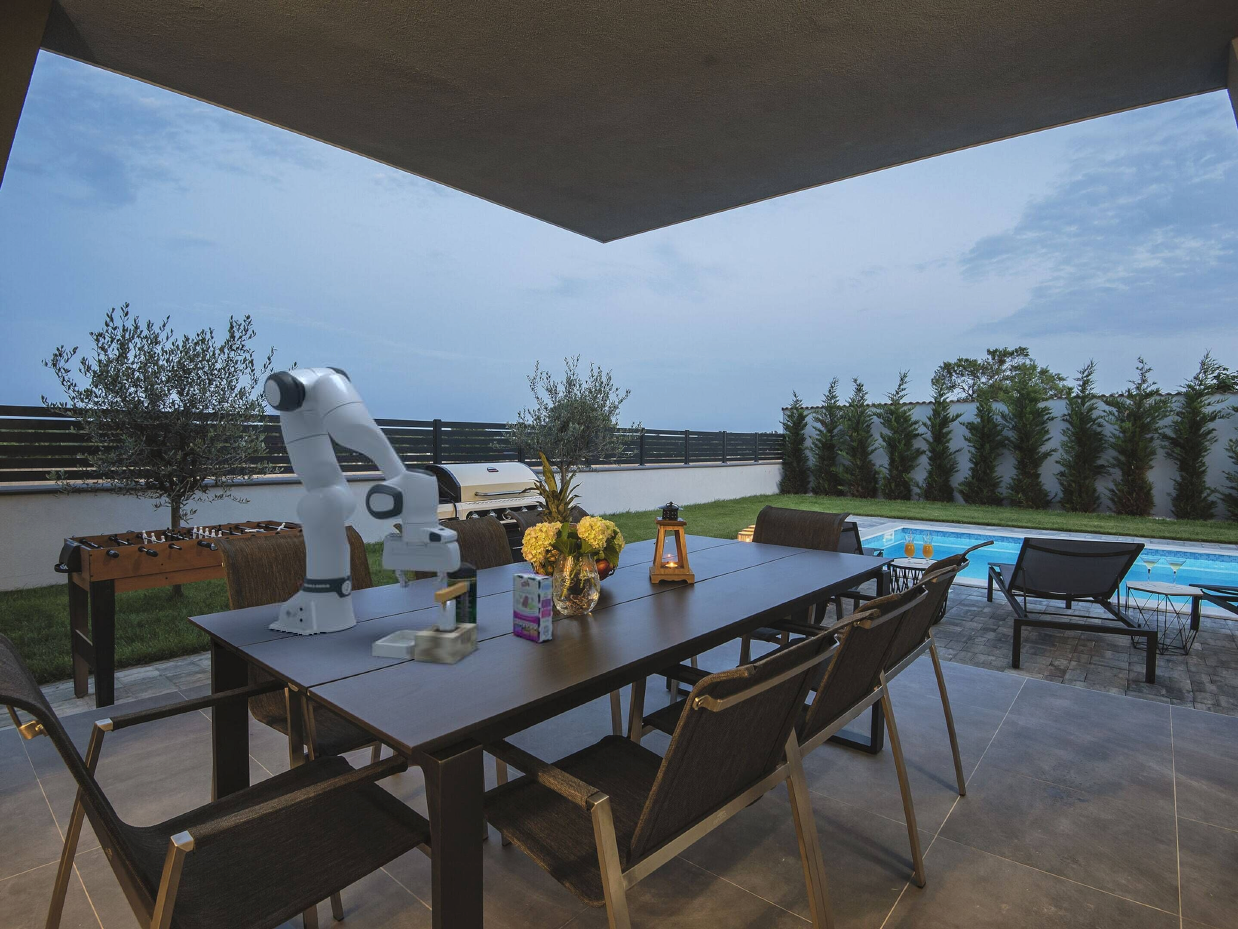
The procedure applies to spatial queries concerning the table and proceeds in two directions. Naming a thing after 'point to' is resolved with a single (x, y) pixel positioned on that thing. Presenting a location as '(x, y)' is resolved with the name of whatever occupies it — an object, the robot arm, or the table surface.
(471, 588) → the coffee jar
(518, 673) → the table surface
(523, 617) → the candy bar box
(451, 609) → the steel pin
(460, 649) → the block
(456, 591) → the bar
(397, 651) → the tray
